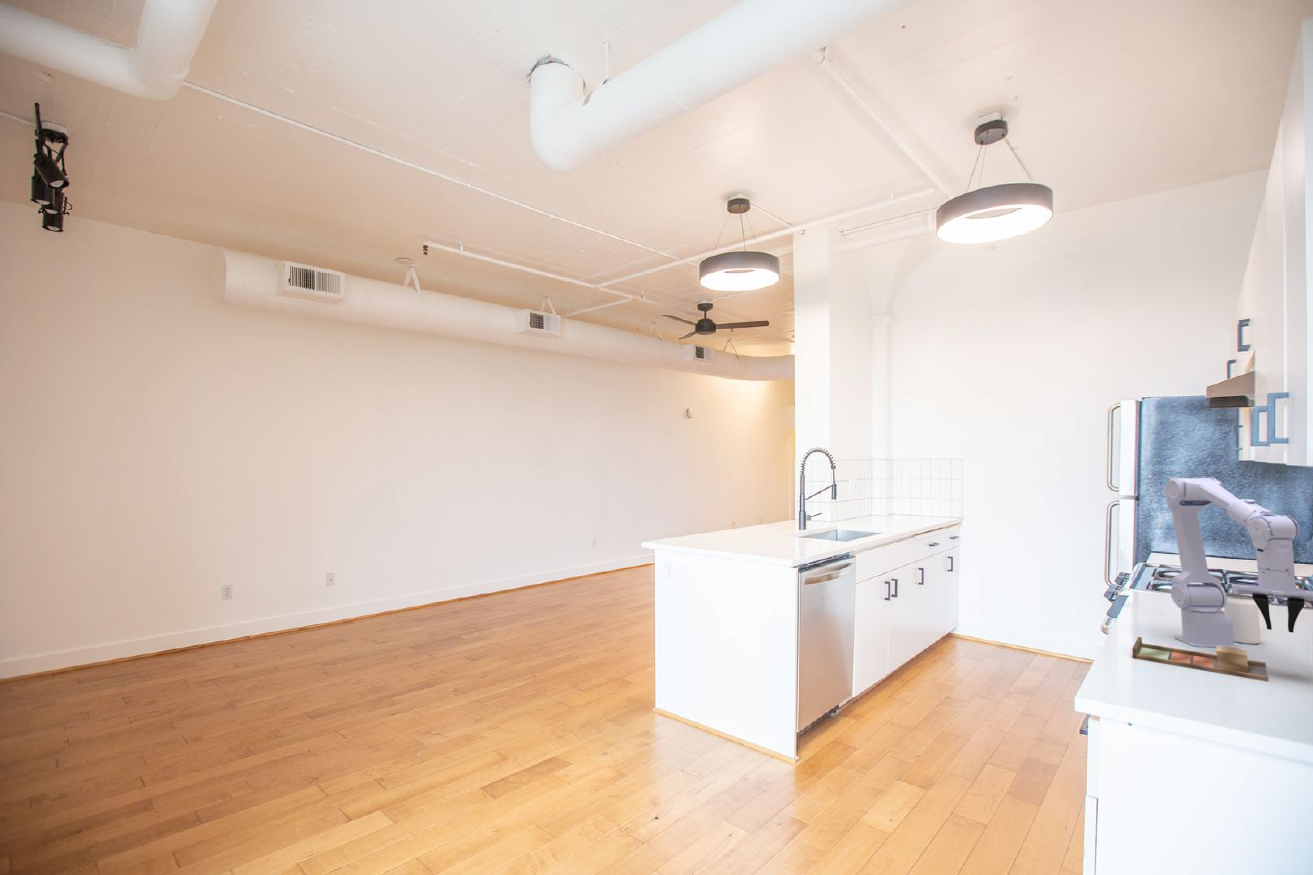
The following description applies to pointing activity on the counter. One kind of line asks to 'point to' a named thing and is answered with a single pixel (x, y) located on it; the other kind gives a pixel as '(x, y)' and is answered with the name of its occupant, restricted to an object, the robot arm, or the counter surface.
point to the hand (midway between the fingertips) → (1279, 629)
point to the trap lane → (1194, 660)
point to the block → (1232, 659)
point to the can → (1243, 618)
